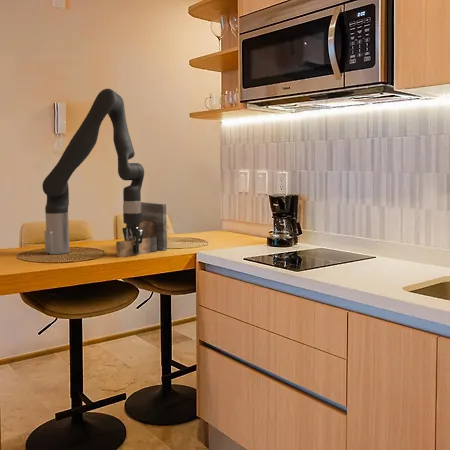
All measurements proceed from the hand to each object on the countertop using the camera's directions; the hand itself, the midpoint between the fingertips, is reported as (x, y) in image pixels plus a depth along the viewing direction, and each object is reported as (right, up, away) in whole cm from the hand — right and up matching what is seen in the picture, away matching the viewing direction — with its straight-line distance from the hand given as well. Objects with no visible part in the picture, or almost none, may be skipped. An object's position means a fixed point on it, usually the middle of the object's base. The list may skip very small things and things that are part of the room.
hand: (133, 252), depth 224 cm
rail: (+2, -1, +1) cm, 2 cm away
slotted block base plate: (+2, +1, +15) cm, 15 cm away
